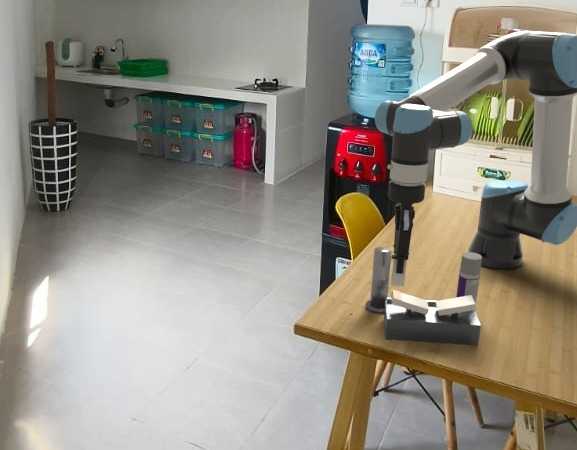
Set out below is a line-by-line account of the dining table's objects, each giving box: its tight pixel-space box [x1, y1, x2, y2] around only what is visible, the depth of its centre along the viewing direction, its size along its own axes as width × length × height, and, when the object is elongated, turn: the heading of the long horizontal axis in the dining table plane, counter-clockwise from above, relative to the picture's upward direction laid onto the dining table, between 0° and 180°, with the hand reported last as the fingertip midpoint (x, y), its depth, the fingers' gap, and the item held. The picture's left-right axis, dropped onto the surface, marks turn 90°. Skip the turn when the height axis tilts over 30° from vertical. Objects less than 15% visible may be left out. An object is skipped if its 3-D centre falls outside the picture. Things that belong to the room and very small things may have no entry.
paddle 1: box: [390, 289, 429, 315], centre depth 141 cm, size 8×4×2 cm, turn 86°
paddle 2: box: [435, 295, 477, 316], centre depth 141 cm, size 8×4×1 cm, turn 84°
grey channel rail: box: [383, 297, 482, 347], centre depth 143 cm, size 20×9×6 cm, turn 85°
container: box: [455, 251, 482, 306], centre depth 150 cm, size 5×5×15 cm
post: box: [365, 246, 393, 315], centre depth 152 cm, size 6×6×15 cm
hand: (397, 284), depth 140 cm, fingers closed
